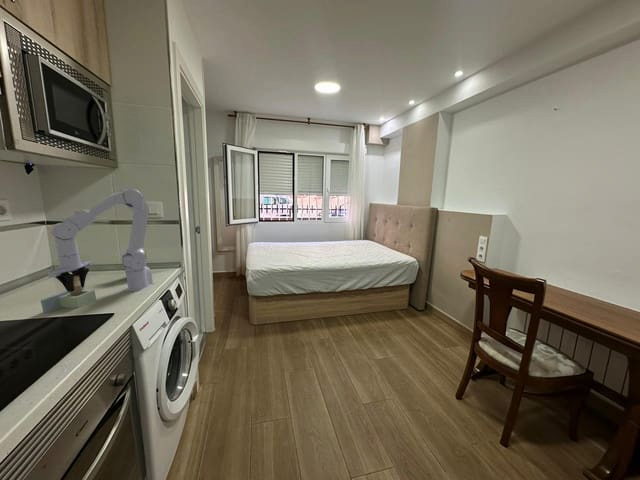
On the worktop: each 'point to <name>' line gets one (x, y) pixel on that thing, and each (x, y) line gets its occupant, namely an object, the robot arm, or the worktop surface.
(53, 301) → the backstop wall
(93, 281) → the worktop surface
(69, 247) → the robot arm
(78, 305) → the socket block
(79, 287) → the dowel
